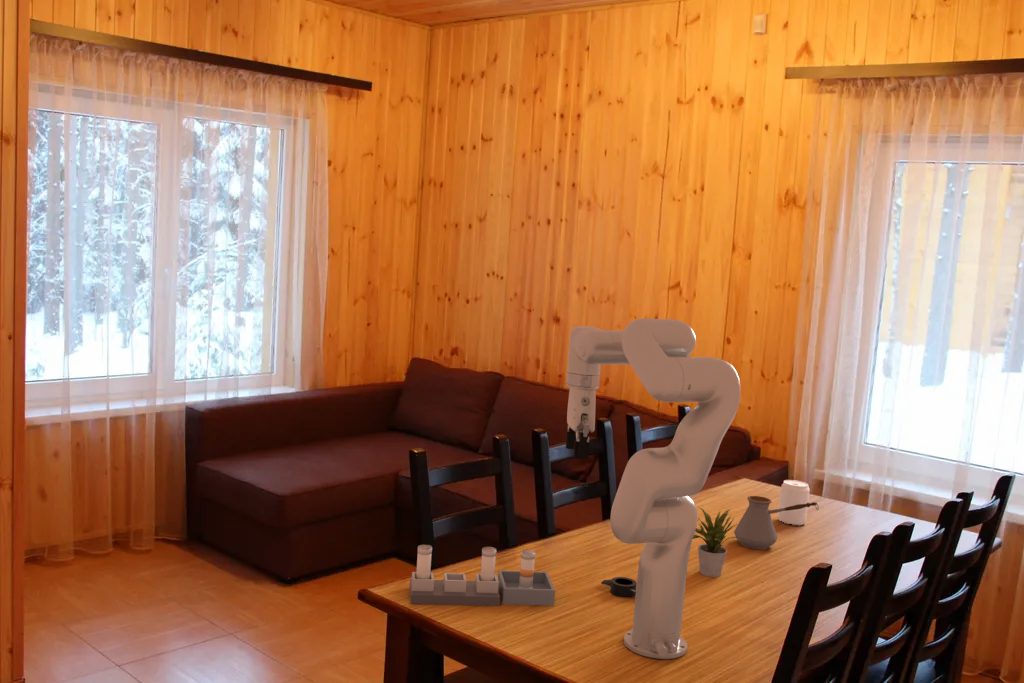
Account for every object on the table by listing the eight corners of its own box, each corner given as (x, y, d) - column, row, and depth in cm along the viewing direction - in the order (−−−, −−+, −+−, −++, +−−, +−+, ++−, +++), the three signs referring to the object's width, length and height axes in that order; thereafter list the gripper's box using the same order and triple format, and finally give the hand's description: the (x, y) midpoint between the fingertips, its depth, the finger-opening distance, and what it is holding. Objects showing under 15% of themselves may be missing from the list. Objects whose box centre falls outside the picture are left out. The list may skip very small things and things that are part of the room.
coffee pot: (727, 545, 265) (733, 491, 263) (739, 535, 275) (745, 483, 273) (808, 563, 255) (814, 507, 253) (817, 552, 265) (823, 498, 263)
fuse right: (494, 591, 213) (497, 551, 212) (479, 591, 213) (482, 551, 211) (492, 586, 216) (495, 547, 215) (478, 586, 216) (481, 546, 215)
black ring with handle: (628, 584, 230) (629, 572, 229) (647, 601, 220) (649, 588, 220) (598, 586, 227) (599, 574, 227) (617, 603, 218) (618, 590, 217)
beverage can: (777, 523, 289) (781, 484, 287) (778, 516, 296) (782, 478, 295) (805, 528, 286) (810, 488, 285) (805, 520, 294) (810, 481, 293)
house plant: (693, 557, 252) (699, 495, 250) (745, 570, 245) (752, 507, 243) (672, 572, 240) (679, 507, 238) (727, 586, 233) (734, 519, 231)
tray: (553, 605, 213) (555, 590, 212) (502, 604, 211) (504, 588, 211) (545, 586, 224) (547, 571, 223) (497, 585, 222) (498, 570, 222)
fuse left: (429, 590, 211) (432, 549, 210) (415, 589, 211) (418, 549, 210) (429, 584, 214) (431, 545, 213) (414, 584, 214) (417, 544, 213)
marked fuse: (533, 593, 216) (536, 554, 215) (519, 593, 216) (522, 554, 215) (531, 588, 219) (534, 549, 218) (517, 588, 219) (520, 549, 218)
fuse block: (499, 606, 210) (500, 585, 210) (410, 603, 208) (411, 583, 207) (494, 590, 219) (496, 570, 219) (409, 587, 217) (411, 568, 216)
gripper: (607, 388, 215) (600, 464, 217) (591, 375, 232) (585, 445, 234) (573, 386, 214) (567, 462, 216) (560, 373, 231) (554, 444, 233)
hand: (576, 453), depth 225 cm, fingers open, 9 cm apart
